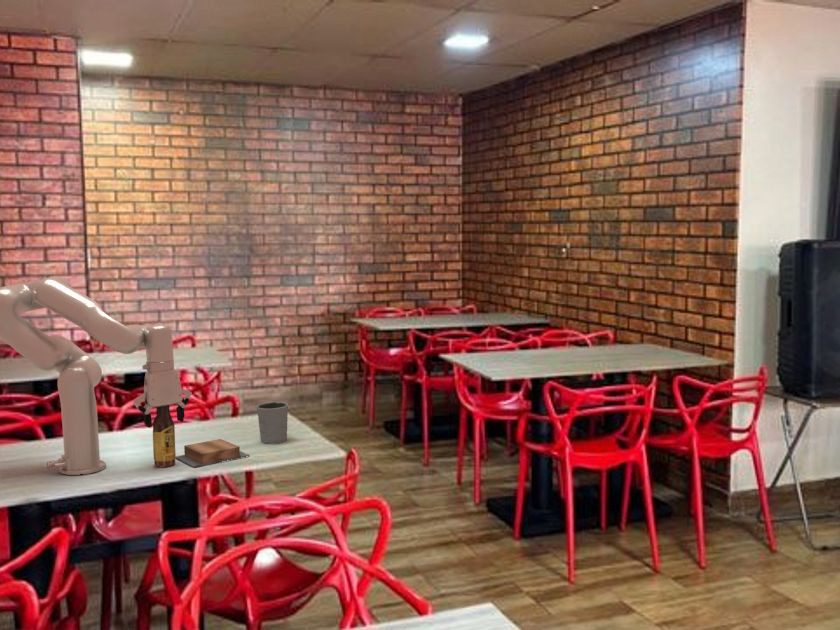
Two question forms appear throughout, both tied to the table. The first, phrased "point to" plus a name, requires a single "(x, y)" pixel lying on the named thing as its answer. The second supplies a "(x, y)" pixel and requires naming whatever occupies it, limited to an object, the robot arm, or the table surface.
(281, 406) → the grey cup
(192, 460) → the brown block with base
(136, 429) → the table surface
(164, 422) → the sauce bottle
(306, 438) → the table surface
